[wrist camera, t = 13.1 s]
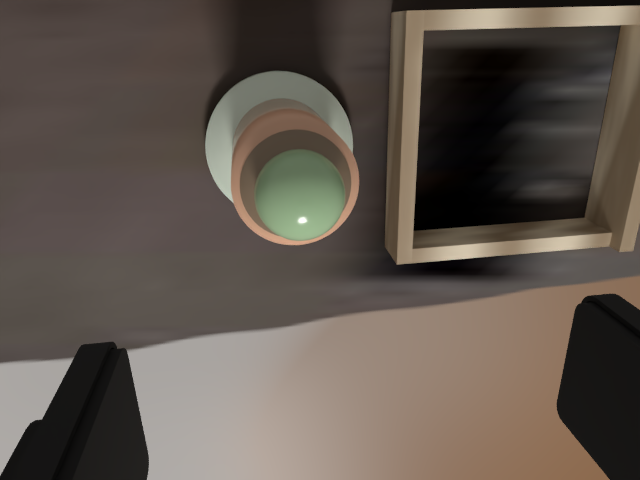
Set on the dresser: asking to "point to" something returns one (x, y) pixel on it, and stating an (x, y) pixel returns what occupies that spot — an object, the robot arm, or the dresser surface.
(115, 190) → the dresser surface
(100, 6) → the dresser surface
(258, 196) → the terracotta pot
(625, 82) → the wooden frame
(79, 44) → the dresser surface
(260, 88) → the pale mint disc
